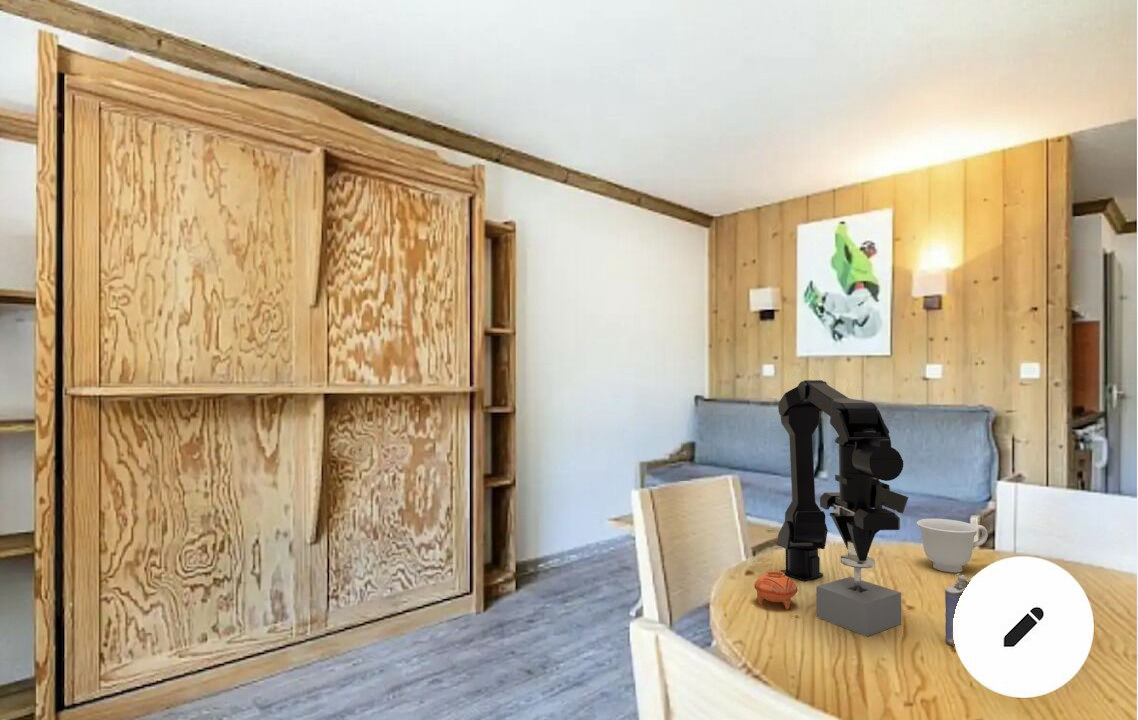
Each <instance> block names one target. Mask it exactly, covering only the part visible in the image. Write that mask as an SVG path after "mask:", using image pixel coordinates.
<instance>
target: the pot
mask: <svg viewBox="0 0 1138 720" xmlns="http://www.w3.org/2000/svg"><path fill="white" fill-rule="evenodd" d="M753 586H754V587H753V588H754V589H755V590H756V594H757V601H758V603H759V604H760V605H762V604H763V603H764V599H765V600H767V601H769V602H772V603H783V605H784V607H785V610H789V608H790V607H791V599H792V598H793V597H794V596H795V595H796V593H797V592H798V586H797V584H796V583H795V581H794V580H792V578H790V577H789V576H788V575H786V574H785V573H783V572H781V570H780V571H779V570H768V571H765V574H762V575H761V576H759V577H758V578H757V579H756V581H754V584H753Z"/></svg>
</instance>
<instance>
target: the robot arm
mask: <svg viewBox="0 0 1138 720" xmlns="http://www.w3.org/2000/svg"><path fill="white" fill-rule="evenodd" d="M777 406H778V413H779V415H780V422H781V425H782V427H783V428H784V429H785V430H786V432H787V434H788V435H789V453H790V454H789V456H790V476H791V477H790V480H791V502H790V504H789V505H788V507H787V509H786V510H785V514H784V522H783V524H782V526H781V528H780V530H779V532H778V534H777V538H778V544H779V545H780V546H781V547H783V548H784V549H785V569H781V570H780V572H783V573H785V576H788V577H789V576H790V577H791V578H795V579H798V580H800V581H809V580H812V579H816V578H820V577H823V576H824V573H822V572H821V571H820V568H821V567H820V560H821V558H820V556H819V550H825V549H826V548H825V547H826V543H827V537H828V530H829V529H828V527H827V524H826V514H825V512H824V511H823V510H821V509H820V508H822V509H824V510H830V508H833V512H830V513H829V516H830V517H831V519H832V521H833V523H834V524H835V527H836V529H837V531H838V533H839V535H840V537H841V539H842V541H843V544H844V545H845V548H846V549H847V551H848V540H852V542H853V545H854V548H855V551H856V554H857V556H858V559H859V560H860V561H866V558H867V557H868V555H869V553H870V549H871V546H872V543H873V540H874V538H875V536H876V535H877V533H879V532H880V531H899V530H901V518H900V517H899V516H898V515H897V513H900V514H904V512H905V508H906V506H907V503H908V501H909V499H910V498H909V497H908V496H906V495H904V494H901V493H898V492H896V491H892V490H891V487H890V485H889V484H888V483H885V482H890V481H893V480H895V479H897V478H898V477H900V475H901V473H902V472H903V469H904V459H903V457H902V455H901V454H900V452H899V451H898V450H897V449H895V448H894V447H892V440H891V436H890V435H889V434H890V431H889V429H888V426H887V425H886V423H885V421H884V419H883V417H882V413H881V412H880V410H879V409H878V407H877V405H876V404H875V403H874V402H872V401H868V400H864V399H863V400H862V399H855V398H850V397H848V396H846V395H845V394H843V393H842V392H839V391H838V390H837V389H835V388H833V387H831V386H830V385H829V384H828V382H826V381H823V380H821V379H813V380H811V379H805V380H803V381H800V382H799V383H798V384H797V386H795V387H793V388H792V389H790V390H788V391H787V392H784V394H783V395H782V397H781V399H780V400H779V401H778V405H777ZM822 413H825V414H827V415H828V416H829V417H830V418H829V419H830V420H829V424H830V425H831V426H832V428H833V429H834V430H835V432H836V433H837V435H838V436H837V437H836V438H835V440H834V443H835V444H837V445H838V465H839V466H838V467H839V468H838V469H839V471H838V472H839V473H838V474H835V475H834V481H837V482H839V484H838V485H839V492H838V491H837V492H823V493H822V495H821V496H820V497H819V505H818V503H817V502H816V488H815V487H816V485H815V467H814V466H815V465H814V446H813V445H814V443H813V441H814V440H813V434H814V433H815V432H816V431H817V428H818V426H820V423H821V421H820V420H821V419H820V418H821V417H820V415H821V414H822ZM883 481H885V482H883ZM883 507H885V508H883ZM886 508H887V509H886ZM889 509H890V510H889ZM891 510H892V511H891ZM893 511H896V512H897V513H895V512H893Z"/></svg>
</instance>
